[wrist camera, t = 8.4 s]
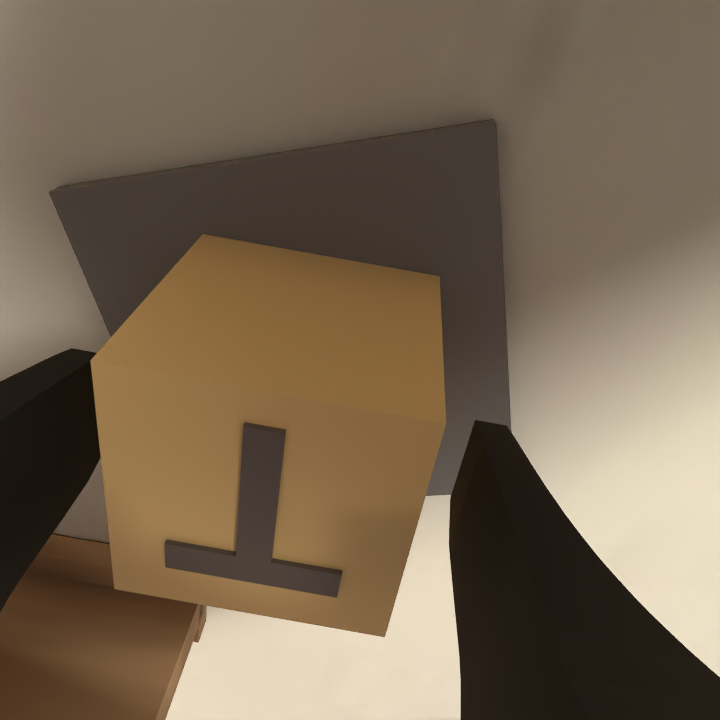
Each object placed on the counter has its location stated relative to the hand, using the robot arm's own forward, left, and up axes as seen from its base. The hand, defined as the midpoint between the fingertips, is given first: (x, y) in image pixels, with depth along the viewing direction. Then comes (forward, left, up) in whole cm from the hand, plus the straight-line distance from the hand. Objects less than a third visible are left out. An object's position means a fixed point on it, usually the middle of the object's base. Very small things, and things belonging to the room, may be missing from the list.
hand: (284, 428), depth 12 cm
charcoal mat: (0, 0, -3) cm, 3 cm away
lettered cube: (0, 0, -3) cm, 3 cm away
